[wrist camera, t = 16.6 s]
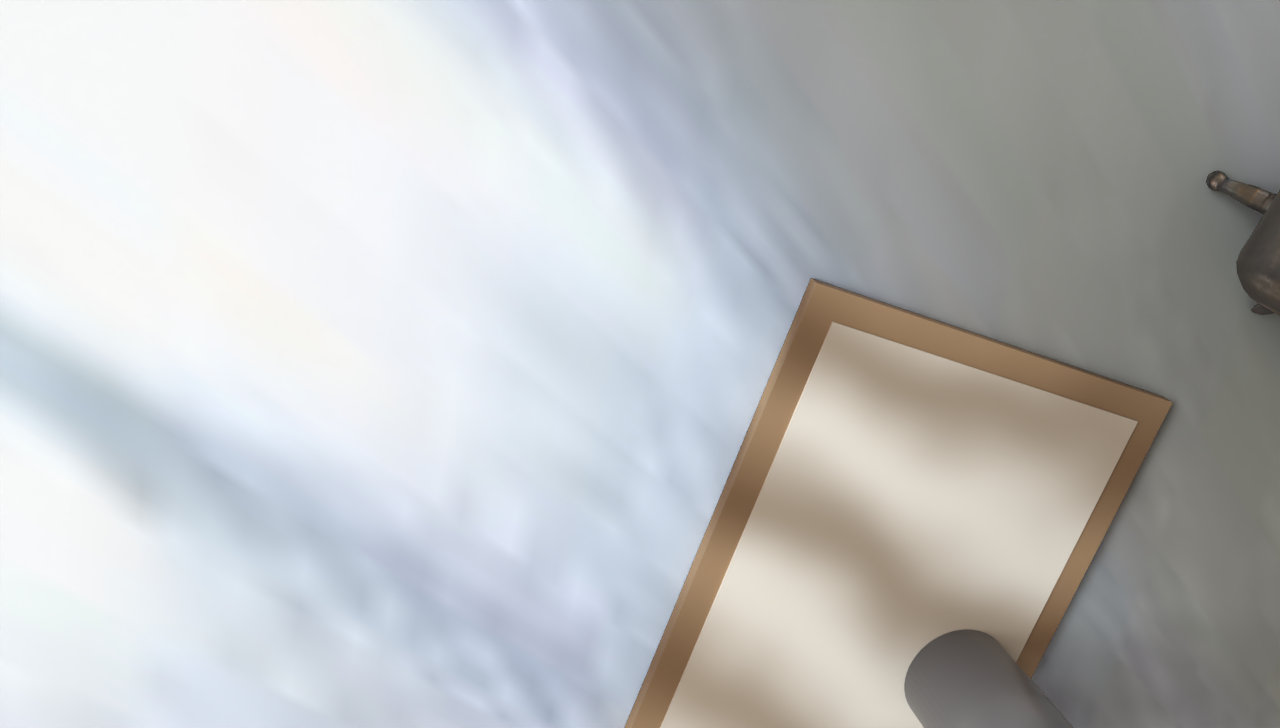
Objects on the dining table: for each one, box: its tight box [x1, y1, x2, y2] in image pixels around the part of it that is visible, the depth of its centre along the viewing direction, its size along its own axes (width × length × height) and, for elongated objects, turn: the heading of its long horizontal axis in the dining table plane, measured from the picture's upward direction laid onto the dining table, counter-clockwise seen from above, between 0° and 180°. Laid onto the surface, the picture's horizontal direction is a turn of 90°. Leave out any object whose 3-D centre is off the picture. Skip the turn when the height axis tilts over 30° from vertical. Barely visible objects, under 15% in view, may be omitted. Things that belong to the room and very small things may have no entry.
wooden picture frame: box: [625, 278, 1173, 728], centre depth 41 cm, size 18×14×1 cm
